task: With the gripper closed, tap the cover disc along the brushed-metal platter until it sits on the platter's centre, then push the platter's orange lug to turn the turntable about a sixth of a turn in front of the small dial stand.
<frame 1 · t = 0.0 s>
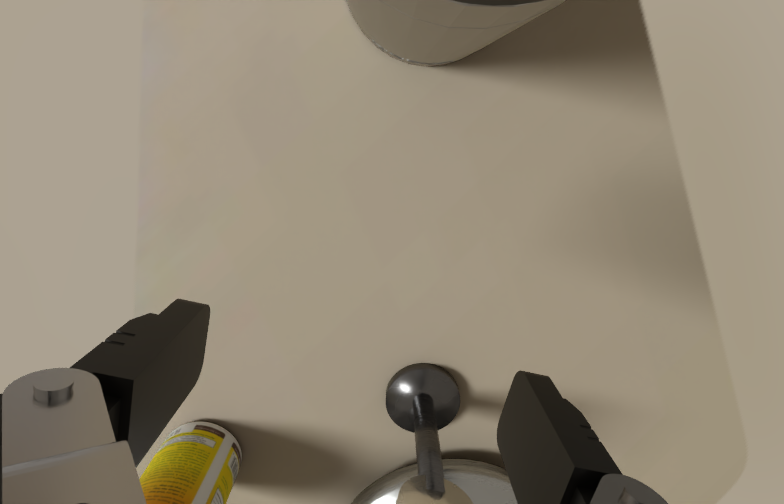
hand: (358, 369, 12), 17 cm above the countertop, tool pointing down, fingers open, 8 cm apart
supplement bottle: (206, 447, 34), on the countertop
dial stand: (422, 395, 32), on the countertop
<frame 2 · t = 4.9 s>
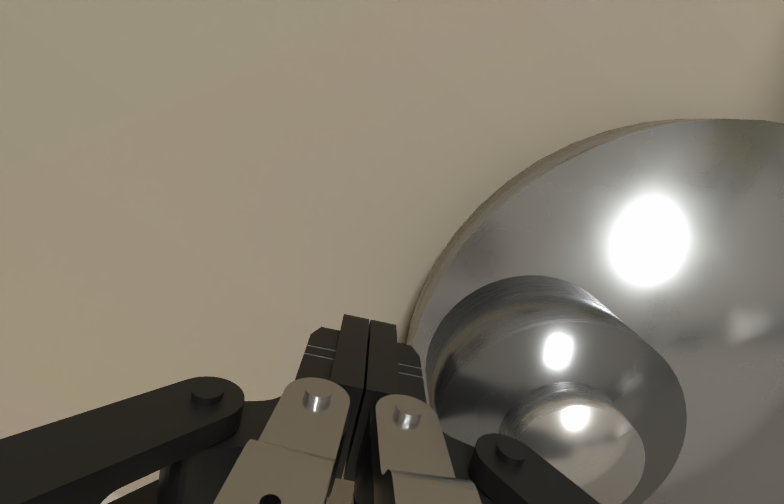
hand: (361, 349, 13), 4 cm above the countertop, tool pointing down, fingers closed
cover: (523, 368, 14), point 3 cm above the countertop, touching gripper
turntable: (699, 423, 14), point 4 cm above the countertop, hinge at -0.2°
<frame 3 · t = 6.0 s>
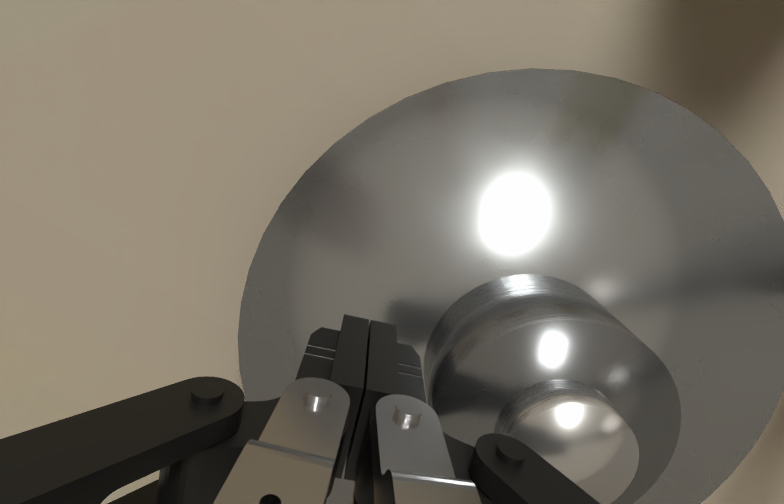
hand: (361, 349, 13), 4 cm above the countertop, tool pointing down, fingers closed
cover: (520, 366, 14), point 3 cm above the countertop, touching gripper
turntable: (525, 383, 13), point 4 cm above the countertop, hinge at -0.4°
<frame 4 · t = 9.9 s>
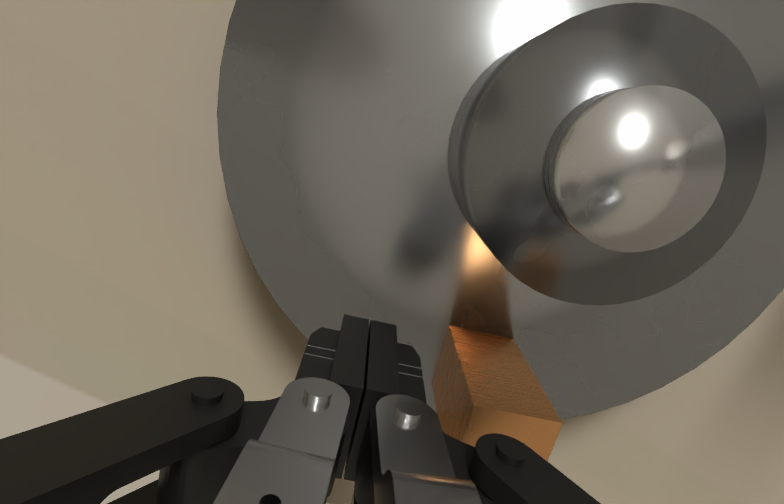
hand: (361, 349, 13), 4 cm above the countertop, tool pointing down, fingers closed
cover: (559, 155, 13), point 3 cm above the countertop, touching turntable
turntable: (554, 150, 11), point 4 cm above the countertop, hinge at -0.4°, touching cover, gripper
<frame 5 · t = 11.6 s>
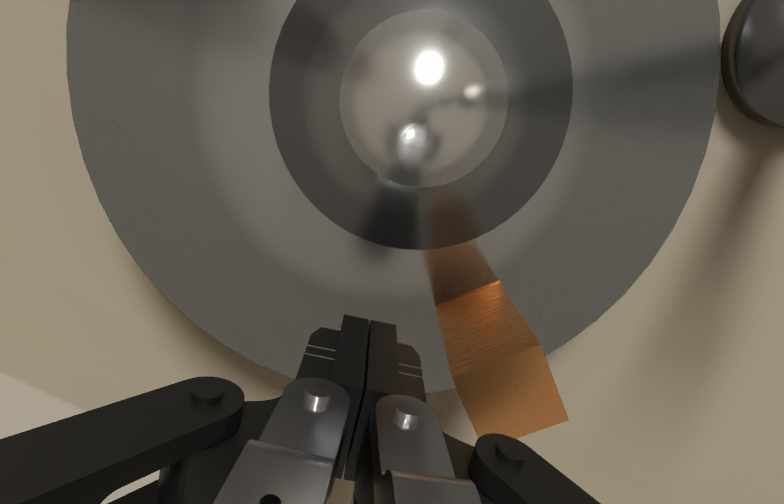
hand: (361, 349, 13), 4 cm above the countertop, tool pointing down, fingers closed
cover: (413, 107, 12), point 3 cm above the countertop, touching turntable
turntable: (393, 113, 11), point 4 cm above the countertop, hinge at 36.6°, touching cover, gripper
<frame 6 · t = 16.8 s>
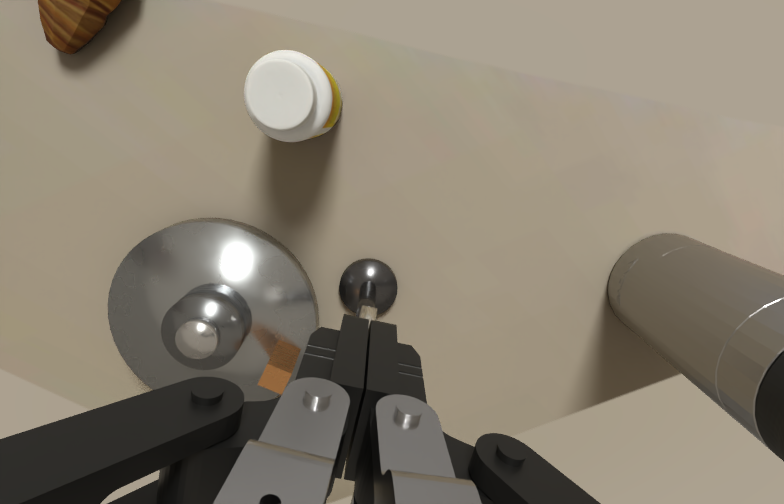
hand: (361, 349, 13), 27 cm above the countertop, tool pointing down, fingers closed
cover: (215, 317, 39), point 3 cm above the countertop, touching turntable
turntable: (207, 328, 38), point 4 cm above the countertop, hinge at 76.9°, touching cover
supplement bottle: (308, 101, 37), on the countertop
dial stand: (368, 285, 41), on the countertop
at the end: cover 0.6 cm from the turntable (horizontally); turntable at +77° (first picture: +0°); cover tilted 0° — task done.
